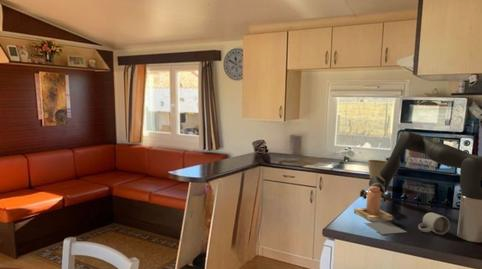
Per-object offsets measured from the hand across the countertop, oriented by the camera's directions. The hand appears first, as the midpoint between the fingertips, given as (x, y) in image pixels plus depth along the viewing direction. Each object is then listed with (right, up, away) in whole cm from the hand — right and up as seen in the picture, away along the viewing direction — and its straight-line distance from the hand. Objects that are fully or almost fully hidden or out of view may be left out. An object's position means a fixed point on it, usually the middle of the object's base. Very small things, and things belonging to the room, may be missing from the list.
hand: (374, 198), depth 161 cm
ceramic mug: (+17, -11, -18) cm, 27 cm away
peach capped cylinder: (-2, -8, -3) cm, 9 cm away
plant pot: (+26, -3, +60) cm, 65 cm away
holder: (-2, -8, -3) cm, 9 cm away
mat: (-3, -10, -18) cm, 20 cm away
